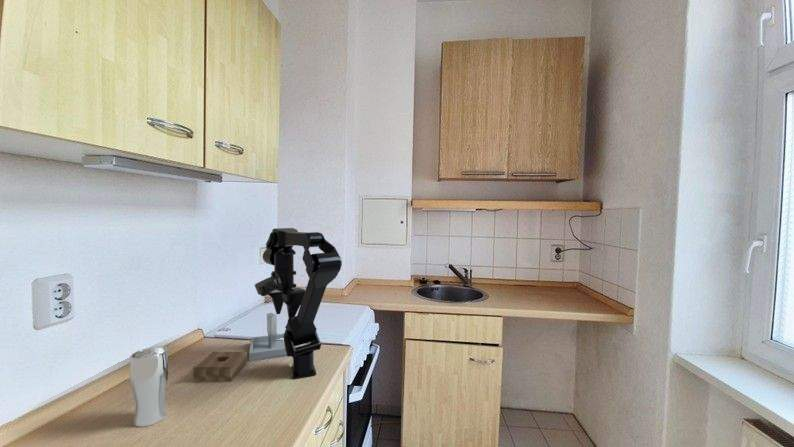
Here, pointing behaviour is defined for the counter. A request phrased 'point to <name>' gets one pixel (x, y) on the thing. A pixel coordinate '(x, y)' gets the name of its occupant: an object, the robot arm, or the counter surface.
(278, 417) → the counter surface
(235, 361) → the socket
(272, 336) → the grey rectangular block
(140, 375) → the beer glass
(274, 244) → the robot arm
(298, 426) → the counter surface
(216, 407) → the counter surface
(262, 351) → the tray
